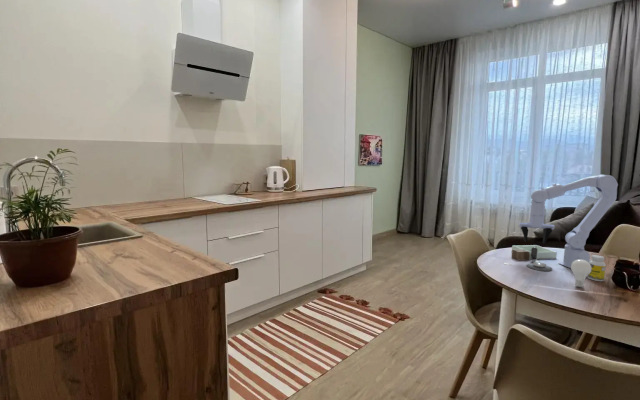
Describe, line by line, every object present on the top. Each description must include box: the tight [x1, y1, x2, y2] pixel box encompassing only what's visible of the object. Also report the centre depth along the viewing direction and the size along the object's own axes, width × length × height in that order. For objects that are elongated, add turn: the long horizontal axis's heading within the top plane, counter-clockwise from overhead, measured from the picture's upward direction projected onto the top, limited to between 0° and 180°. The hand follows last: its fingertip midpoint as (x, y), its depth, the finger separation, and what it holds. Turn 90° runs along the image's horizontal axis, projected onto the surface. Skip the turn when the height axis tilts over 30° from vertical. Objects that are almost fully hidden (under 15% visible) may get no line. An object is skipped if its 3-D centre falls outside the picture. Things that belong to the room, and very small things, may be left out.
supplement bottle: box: [587, 254, 607, 282], centre depth 142 cm, size 5×5×10 cm
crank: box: [530, 247, 547, 268], centre depth 161 cm, size 14×5×7 cm, turn 161°
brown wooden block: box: [511, 249, 530, 261], centre depth 171 cm, size 4×4×6 cm
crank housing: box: [503, 262, 553, 272], centre depth 158 cm, size 20×10×1 cm, turn 71°
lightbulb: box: [570, 259, 592, 288], centre depth 132 cm, size 6×6×11 cm
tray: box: [511, 244, 558, 260], centre depth 178 cm, size 14×14×4 cm
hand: (534, 242), depth 165 cm, fingers open, 7 cm apart
